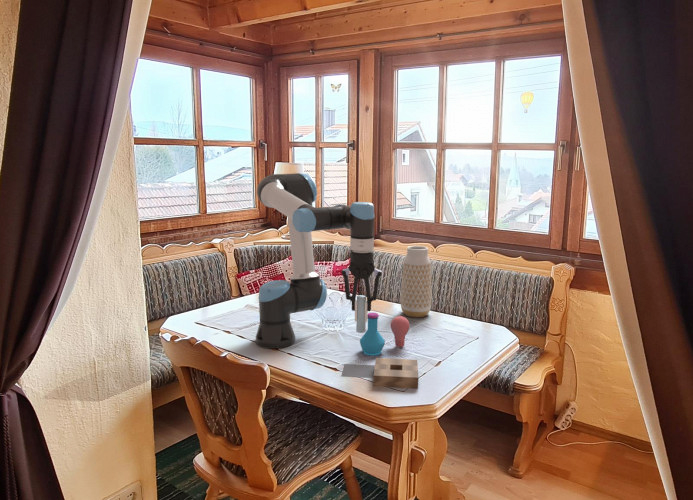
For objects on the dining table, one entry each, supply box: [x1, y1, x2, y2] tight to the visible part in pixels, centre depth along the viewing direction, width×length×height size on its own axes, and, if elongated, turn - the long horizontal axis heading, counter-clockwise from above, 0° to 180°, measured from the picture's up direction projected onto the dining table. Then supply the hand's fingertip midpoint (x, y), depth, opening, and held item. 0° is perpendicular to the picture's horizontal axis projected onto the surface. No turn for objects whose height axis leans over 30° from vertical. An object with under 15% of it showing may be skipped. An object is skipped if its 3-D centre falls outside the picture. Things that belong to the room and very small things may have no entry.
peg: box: [355, 294, 367, 334], centre depth 175 cm, size 3×3×12 cm
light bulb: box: [390, 315, 411, 348], centre depth 200 cm, size 7×7×12 cm
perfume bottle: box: [359, 312, 386, 356], centre depth 194 cm, size 9×9×15 cm
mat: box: [340, 363, 375, 379], centre depth 179 cm, size 12×10×1 cm
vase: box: [400, 245, 432, 318], centre depth 236 cm, size 14×14×31 cm
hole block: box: [373, 357, 419, 389], centre depth 174 cm, size 14×14×4 cm
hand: (361, 319), depth 175 cm, fingers closed on peg, 3 cm apart
